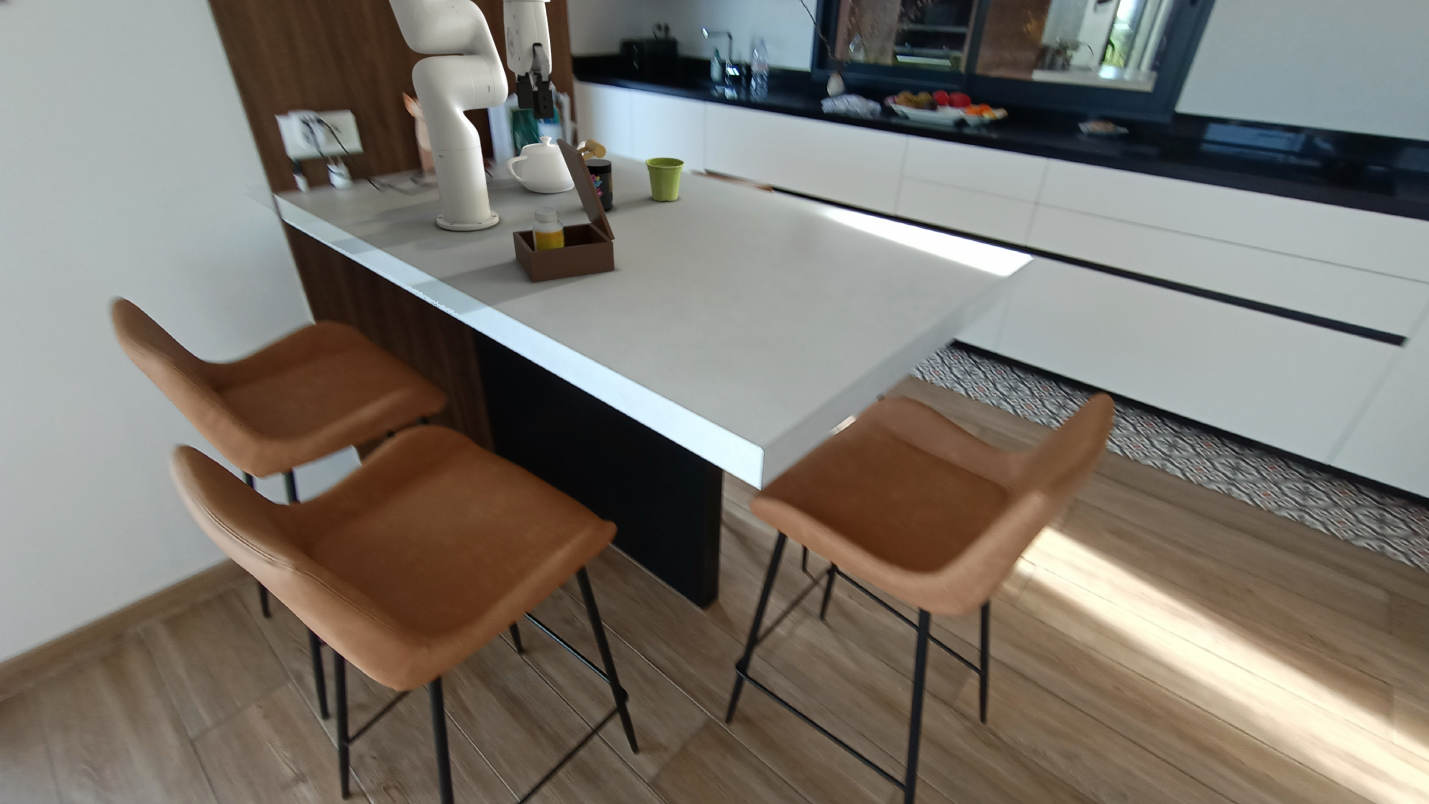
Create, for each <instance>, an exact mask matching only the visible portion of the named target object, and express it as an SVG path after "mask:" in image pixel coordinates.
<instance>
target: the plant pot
mask: <svg viewBox="0 0 1429 804" xmlns="http://www.w3.org/2000/svg"><path fill="white" fill-rule="evenodd" d="M644 162H645V165H646V167H647V171H648V176H649V182H650V189H651V197H652V199H653V200H655V201H658V202H665V201H668V202H673V201H676V200H677V199H678V196H679V187H680V183H681V182H680V181H681V174H682V172H683V167H684V166H685V161H684V160H682V159H680V158H674V157H651V158H648V159H646V160H645V161H644Z"/></svg>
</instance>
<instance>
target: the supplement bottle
mask: <svg viewBox="0 0 1429 804" xmlns="http://www.w3.org/2000/svg"><path fill="white" fill-rule="evenodd" d="M559 217H560V216H559V210H558V209H557V208H555V207H548V206H547V207H540V208H536V209H535V210H534V218H535V221H534V222H533V223H532V226H531V228H532V229H531V230H533V238H534V247H535V251H539V250H547V249H554V248H562V247H565V245H564V232H563V226H564V224H563V222H561V221H560V220H558V219H559Z"/></svg>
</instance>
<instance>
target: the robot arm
mask: <svg viewBox="0 0 1429 804" xmlns="http://www.w3.org/2000/svg"><path fill="white" fill-rule="evenodd" d="M388 1H389V4H390V7H391V10H392V12H393V14H394V17H395V20H396V22H397V24H398V27H399V30H400V33H401V34H402V37H403V39H404V41H405V42H406V45H407V46H408V47H409V49H411V50H412V51H413V52H415V53H419V54H424V55H433V56H429V57H425V58H422V59H420V60H418V61H417V62H416V63H415V64H414V66H413V68H412V72H411V79H412V84H413V88H414V91H415V93H416V96H417V99H418V102H419V105H420V108H421V111H422V115H423V118H424V122H425V126H426V130H427V135H428V140H429V146H430V150H431V156H432V161H433V167H434V172H435V177H436V183H437V187H438V188H437V189H438V193H439V198H440V199H439V200H440V205H441V210H442V213H440V214H439V215H437V217H436V219H435V221H436V224H437V226H438V227H440V228H441V229H444V230H449V231H457V232H469V231H479V230H483V229H488V228H491V227H493V226H495V225H497V224H498V223H499V222H500V217H499V214H498V213H497V212H496V211H494V210H491V207H490V201H489V193H488V187H487V179H486V173H485V166H484V159H483V153H482V146H481V139H480V135H479V132H478V130H477V129H476V127H475V125H474V124H473V123H472V122H471V120H469V119H468V118H467V117H466V115H465V113H464V112H465V111H469V110H477V109H478V110H479V109H490V108H497V107H500V106H501V105H503V104H504V103H505V102H506V100H507V99H508V94H509V86H508V79H507V75H506V72H505V70H504V66H503V63H502V60H501V57H500V55H499V53H498V50H497V47H496V44H495V42H494V39H493V35H492V34H491V31H490V28H489V25H488V22H487V20H486V17H485V15H484V13H483V12H482V10H481V9H480V7H479V6H478V5H477V4H476V3H475V2H474V1H472V0H388ZM545 3H551V0H503V26H504V37H505V38H504V39H505V53H506V64H507V67H508V70H510V71H512V72H513V73H514V79H515V90H516V100H517V108H518V109H520V110H529V109H532V115H533V118H534V119H535V120H548V119H555V108H554V107H555V106H554V96H553V95H554V94H553V84H552V75H551V74H552V70H553V69H552V68H553V67H552V52H551V42H550V40H551V39H550V32H549V31H550V30H549V25H548V24H549V23H548V16H547V9H546V4H545ZM447 54H450V55H447ZM451 54H455V55H451ZM456 54H457V55H456ZM458 54H462V55H458ZM434 55H435V56H434Z"/></svg>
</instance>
